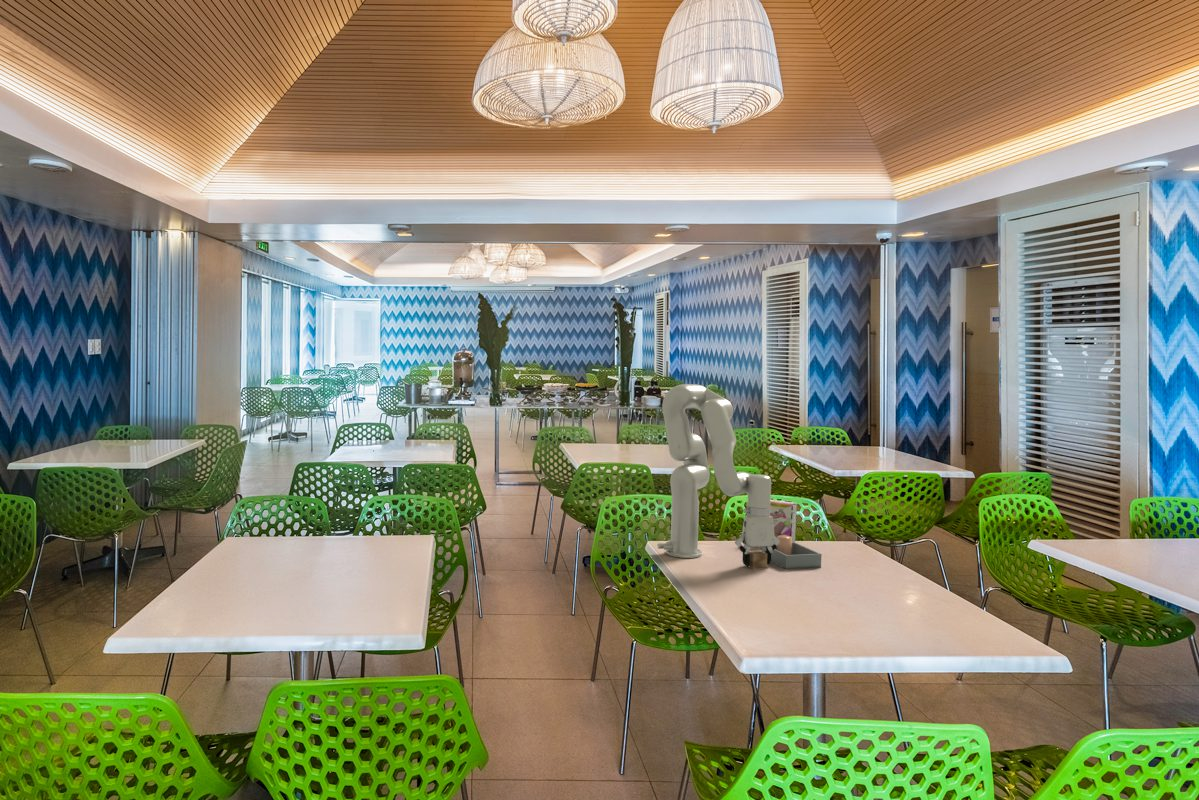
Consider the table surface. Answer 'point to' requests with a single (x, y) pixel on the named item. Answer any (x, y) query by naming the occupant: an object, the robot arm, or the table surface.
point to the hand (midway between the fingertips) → (756, 564)
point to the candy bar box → (783, 518)
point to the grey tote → (796, 557)
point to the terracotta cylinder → (785, 544)
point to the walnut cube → (757, 559)
